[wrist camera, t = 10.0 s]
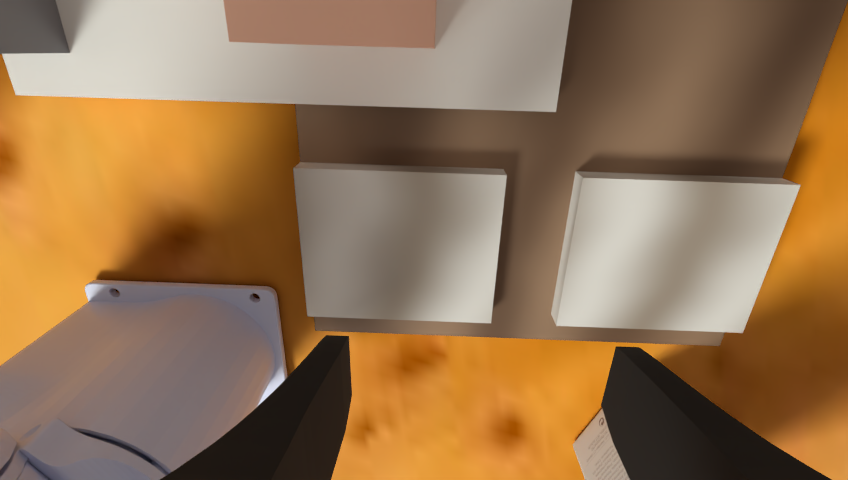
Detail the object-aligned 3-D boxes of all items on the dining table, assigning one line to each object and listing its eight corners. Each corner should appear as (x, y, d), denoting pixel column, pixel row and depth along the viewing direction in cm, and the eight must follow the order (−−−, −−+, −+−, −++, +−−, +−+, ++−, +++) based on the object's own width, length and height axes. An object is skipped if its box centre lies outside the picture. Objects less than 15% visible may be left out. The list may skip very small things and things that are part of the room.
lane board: (320, 319, 22) (309, 342, 21) (274, -227, 14) (250, -268, 12) (708, 333, 22) (732, 359, 20) (901, -214, 14) (972, -254, 12)
